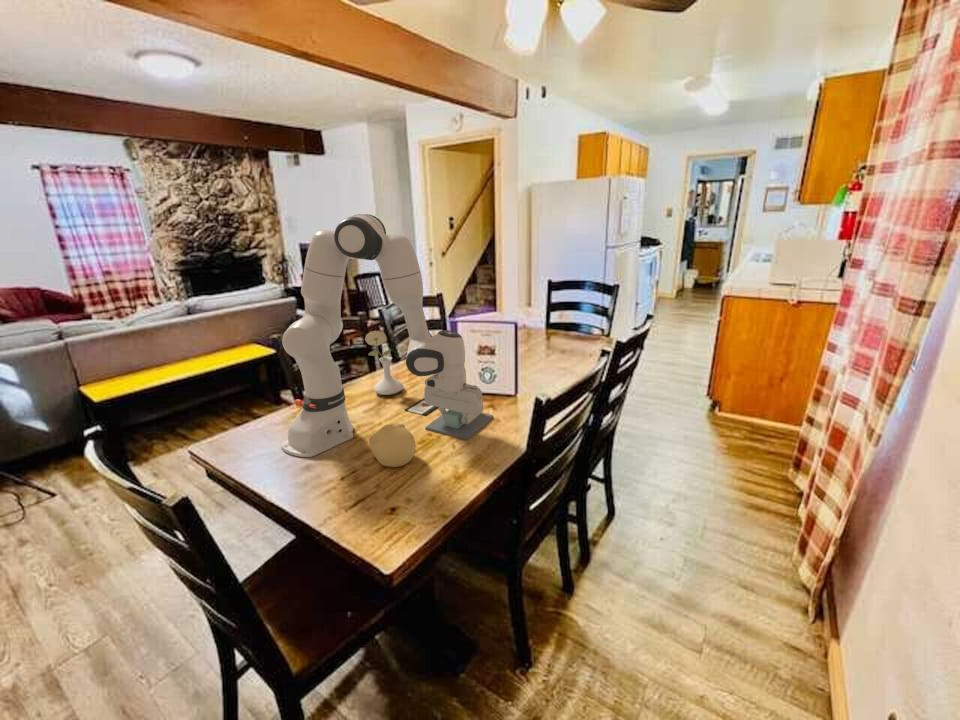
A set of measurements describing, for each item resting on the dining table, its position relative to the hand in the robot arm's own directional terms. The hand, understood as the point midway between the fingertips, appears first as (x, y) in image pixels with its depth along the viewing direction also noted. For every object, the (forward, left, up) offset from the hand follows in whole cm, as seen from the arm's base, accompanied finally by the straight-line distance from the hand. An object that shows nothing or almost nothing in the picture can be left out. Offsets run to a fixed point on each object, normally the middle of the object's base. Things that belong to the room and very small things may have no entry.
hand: (454, 421), depth 142 cm
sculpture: (-24, +5, -3) cm, 25 cm away
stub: (0, 0, -1) cm, 1 cm away
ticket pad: (+3, 0, -2) cm, 4 cm away
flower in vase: (+14, +40, -3) cm, 42 cm away
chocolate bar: (+12, +18, -3) cm, 22 cm away
